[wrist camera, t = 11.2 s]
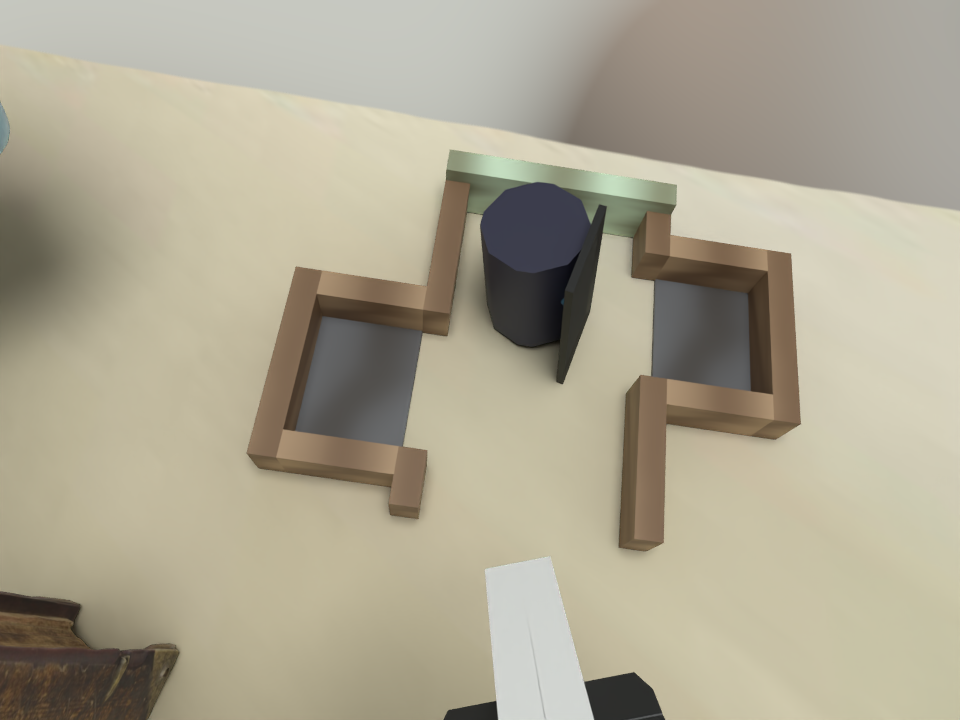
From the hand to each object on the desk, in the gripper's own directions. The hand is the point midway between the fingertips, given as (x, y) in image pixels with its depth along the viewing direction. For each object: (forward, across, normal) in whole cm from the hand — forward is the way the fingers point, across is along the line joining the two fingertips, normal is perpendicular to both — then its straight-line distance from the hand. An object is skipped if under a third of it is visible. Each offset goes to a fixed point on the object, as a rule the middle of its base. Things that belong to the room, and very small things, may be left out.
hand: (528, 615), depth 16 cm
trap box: (+27, +3, -2) cm, 27 cm away
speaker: (+29, +3, +1) cm, 29 cm away
